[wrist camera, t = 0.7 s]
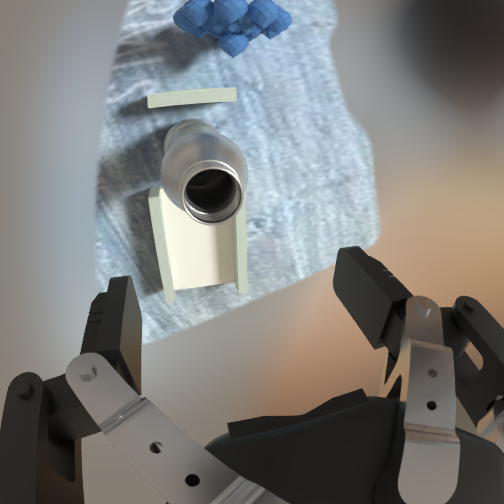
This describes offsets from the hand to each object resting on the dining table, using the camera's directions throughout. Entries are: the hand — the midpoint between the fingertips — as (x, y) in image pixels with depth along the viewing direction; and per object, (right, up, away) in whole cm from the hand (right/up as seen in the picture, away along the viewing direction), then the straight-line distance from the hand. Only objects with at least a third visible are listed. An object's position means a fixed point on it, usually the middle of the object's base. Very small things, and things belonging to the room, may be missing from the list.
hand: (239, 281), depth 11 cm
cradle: (-6, +2, +29) cm, 30 cm away
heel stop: (-7, +19, +20) cm, 28 cm away
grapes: (-3, +26, +17) cm, 31 cm away
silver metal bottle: (-7, +14, +23) cm, 28 cm away
